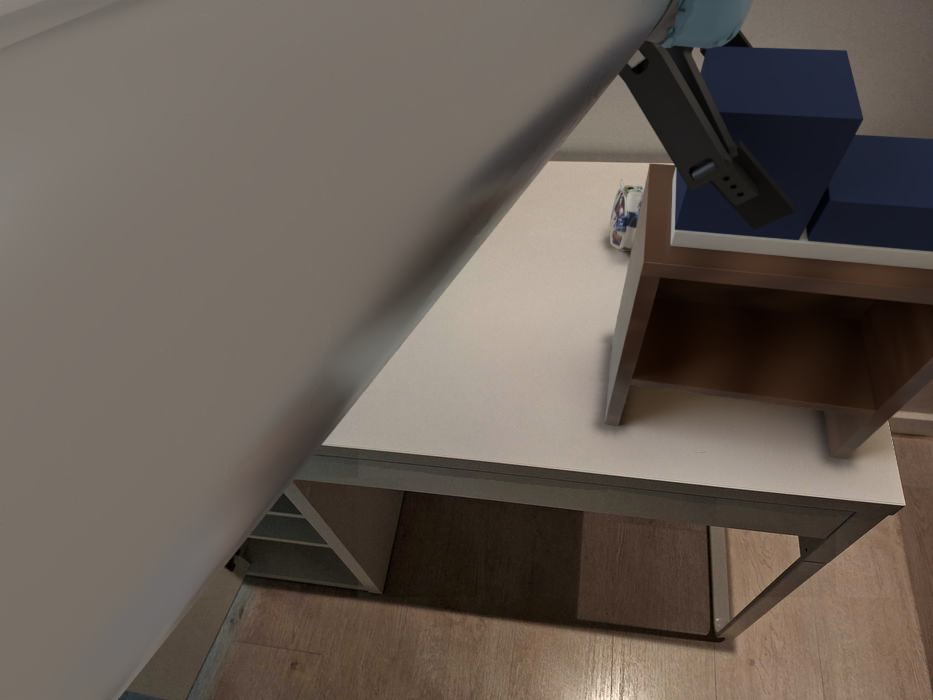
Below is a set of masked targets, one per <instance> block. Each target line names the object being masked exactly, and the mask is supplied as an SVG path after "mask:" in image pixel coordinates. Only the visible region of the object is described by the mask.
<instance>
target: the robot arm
mask: <svg viewBox="0 0 933 700" xmlns="http://www.w3.org/2000/svg"><path fill="white" fill-rule="evenodd" d="M753 3H754V0H0V700H119V699H120V698H121V696H123V694H124V693H125V692H126V691H127V689H128V688H129V686H131V684H132V683H133V681H134V680H135V679H136V678H137V676H138V675H140V673H141V672H142V671H143V669H144V668H145V667H146V665H147V664H148V663H149V661H150V660H151V659H152V658H153V656H154V655H155V654H156V653H157V651H158V650H159V649H160V648H161V646H163V644H164V642H165V641H166V640H167V639H168V638H169V637H170V635H171V634H172V633H173V632H174V630H175V629H176V628H177V627H178V625H179V624H180V623H181V622H182V620H183V619H184V618H185V617H186V615H187V614H188V613H189V612H190V610H191V609H192V607H194V606H195V604H196V603H197V601H198V600H199V599H200V598H201V597H202V595H203V594H204V593H205V592H206V590H207V589H208V588H209V587H210V585H211V584H212V583H213V581H214V580H215V579H216V578H217V577H218V575H219V574H220V573H221V572H222V571H223V569H224V568H225V566H226V565H227V564H228V563H229V562H230V560H231V559H232V558H233V556H234V555H235V554H236V553H237V552H238V550H239V549H240V548H241V547H242V545H243V544H244V543H245V541H246V540H247V539H248V538H249V536H250V535H251V534H252V533H253V531H254V530H255V529H256V528H257V526H258V525H259V524H260V523H261V522H262V520H263V519H264V518H265V516H266V515H267V514H268V513H269V512H270V511H271V509H272V508H273V507H274V505H275V504H276V503H277V501H279V499H280V498H281V497H282V496H283V494H284V493H285V492H286V490H287V489H288V488H289V486H291V484H292V483H293V481H294V480H295V479H296V478H297V476H299V474H300V473H301V472H302V470H303V469H304V468H305V467H306V466H307V464H308V463H309V461H310V460H311V459H312V458H313V457H314V456H315V454H316V453H317V451H318V450H319V449H320V448H321V446H323V444H324V443H325V442H326V440H327V439H328V438H329V436H330V435H332V433H333V431H334V430H335V429H336V428H337V426H338V425H339V424H340V423H341V422H342V420H343V419H344V418H345V417H346V415H347V414H348V413H349V412H350V410H351V409H352V408H353V406H354V405H355V404H356V403H357V401H358V400H359V399H360V398H361V397H362V395H363V394H364V393H365V392H366V391H367V389H368V388H369V387H370V385H371V384H372V383H373V382H374V381H375V379H376V378H377V377H378V375H379V374H380V373H381V371H383V369H384V368H385V367H386V365H387V364H388V363H389V362H390V360H391V359H392V358H393V357H394V356H395V354H396V353H397V351H398V350H399V349H400V348H401V347H402V345H404V343H405V342H406V340H407V339H408V338H409V337H410V335H411V334H412V332H413V331H414V330H415V329H416V328H417V327H418V325H419V324H420V323H421V322H422V320H423V319H424V318H425V317H426V315H427V314H428V313H429V312H430V311H431V309H433V307H434V305H435V304H436V303H437V302H438V300H439V299H440V298H441V297H442V295H443V294H444V293H445V291H446V290H447V289H448V288H449V286H450V285H451V284H452V283H453V282H454V280H455V279H456V278H457V276H459V274H460V273H461V272H462V270H463V269H464V268H465V266H466V265H467V264H468V263H469V261H470V260H471V259H472V258H473V257H474V256H475V254H476V253H477V251H478V250H480V248H481V246H482V245H483V244H484V243H485V242H486V241H487V239H488V238H489V237H490V235H491V234H492V233H493V231H494V230H495V229H496V228H497V226H498V225H499V224H500V223H501V221H502V220H503V219H504V218H505V216H506V215H508V213H509V212H510V211H511V209H512V208H513V207H514V206H515V204H516V203H517V202H518V200H519V199H520V198H521V197H522V196H523V194H524V193H525V191H526V190H527V189H528V188H529V187H530V186H531V184H532V183H533V182H534V180H535V179H536V178H537V176H539V174H540V173H541V172H542V170H543V169H544V168H545V166H547V164H548V163H549V161H550V160H551V159H552V158H553V157H554V155H555V154H556V153H557V152H558V150H559V149H560V148H561V147H562V145H563V144H564V143H565V142H566V141H567V139H568V138H569V137H570V135H571V134H572V133H573V131H574V130H575V129H576V128H577V127H578V126H579V124H580V123H581V121H582V120H583V119H584V118H585V117H586V115H587V114H588V113H589V112H590V110H591V109H592V108H593V107H594V105H595V104H596V103H597V101H598V100H599V99H600V98H601V96H603V94H604V93H605V92H606V90H607V89H608V88H609V87H610V85H611V84H612V83H613V82H614V81H615V79H616V78H617V76H618V77H620V78H621V80H622V81H623V82H624V83H625V86H626V87H627V89H628V90H629V92H630V93H631V95H632V97H633V99H634V100H635V102H636V103H637V105H638V107H639V108H640V110H641V112H642V114H643V115H644V117H645V118H646V120H647V122H648V123H649V125H650V127H651V129H652V130H653V132H654V133H655V135H656V137H657V138H658V140H659V142H660V143H661V145H662V146H663V148H664V150H665V151H666V154H667V155H668V156H669V159H670V160H671V162H672V163H673V165H675V166H676V168H677V170H678V171H679V173H680V175H681V177H682V179H683V180H684V181H685V183H686V185H687V186H688V187H689V189H691V190H695V189H697V188H698V187H700V186H702V185H704V184H706V183H708V182H710V183H711V184H712V185H713V186H714V187H715V188H716V190H717V191H718V192H719V193H720V194H721V195H722V196H723V197H724V198H725V199H726V201H727V202H728V203H729V204H730V205H731V206H732V207H733V208H734V209H735V210H736V211H737V213H738V214H739V215H740V216H741V217H742V218H743V219H744V220H745V221H746V222H747V224H748V225H749V226H750V227H751V228H752V229H753V230H756V229H758V228H760V227H763V226H765V225H767V224H769V223H771V222H774V221H776V220H778V219H780V218H782V217H785V216H787V215H789V214H791V213H793V212H795V211H794V204H793V202H792V201H791V200H790V199H789V198H788V196H787V195H786V194H785V193H784V192H783V190H782V189H781V188H780V187H779V186H778V184H777V183H776V182H775V181H774V180H773V178H772V177H771V176H770V175H769V174H768V172H767V171H766V170H765V169H764V168H763V166H762V165H761V164H760V163H759V162H758V160H757V159H756V158H755V157H754V156H753V154H752V153H751V152H750V151H749V150H748V148H747V147H746V146H745V145H744V144H743V142H742V141H741V140H738V141H737V142H735V143H734V142H733V140H732V138H731V136H730V134H729V132H728V130H727V128H726V125H725V123H724V121H723V119H722V117H721V115H720V113H719V111H718V109H717V107H716V105H715V103H714V100H713V98H712V96H711V94H710V92H709V90H708V88H707V86H706V84H705V82H704V80H703V77H702V75H701V73H700V72H701V70H700V69H699V67H698V64H697V63H696V61H695V58H694V57H693V50H695V48H697V49H699V53H700V54H701V55H702V56H703V57H705V53H706V49H707V48H713V47H719V46H720V47H753V46H752V44H751V42H750V41H749V40H748V38H747V37H746V36H745V34H744V33H743V31H742V29H741V28H742V27H743V25H744V23H745V21H746V19H747V16H748V14H749V12H750V11H751V7H752V5H753Z"/></svg>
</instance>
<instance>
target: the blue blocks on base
mask: <svg viewBox="0 0 933 700" xmlns="http://www.w3.org/2000/svg"><path fill="white" fill-rule="evenodd" d="M703 57H704V56H703ZM700 73H701V75H702V77H703V80H704V82H705V84H706V86H707V88H708V90H709V92H710V94H711V96H712V98H713V100H714V103H715V105H716V107H717V109H718V111H719V113H720V115H721V117H722V119H723V121H724V123H725V125H726V128H727V130H728V132H729V134H730V136H731V138H732V140H733V142H734V143H735V142H737V141H738V140H741V141H742V142H743V144H744V145H745V146H746V147H747V148H748V150H749V151H750V152H751V153H752V154H753V156H754V157H755V158H756V159H757V160H758V162H759V163H760V164H761V165H762V166H763V168H764V169H765V170H766V171H767V172H768V174H769V175H770V176H771V177H772V178H773V180H774V181H775V182H776V183H777V184H778V186H779V187H780V188H781V189H782V190H783V192H784V193H785V194H786V195H787V196H788V198H789V199H790V200H791V201H792V202H793V204H794V211H795V212H793V213H791V214H789V215H787V216H785V217H782V218H780V219H778V220H776V221H774V222H771V223H769V224H767V225H765V226H763V227H760V228H758V229H756V230H753V229H752V228H751V227H750V226H749V225H748V224H747V222H746V221H745V220H744V219H743V218H742V217H741V216H740V215H739V214H738V213H737V211H736V210H735V209H734V208H733V207H732V206H731V205H730V204H729V203H728V202H727V201H726V199H725V198H724V197H723V196H722V195H721V194H720V193H719V192H718V191H717V190H716V188H715V187H714V186H713V185H712V184H711V183H710V182H708V183H706V184H704V185H702V186H700V187H698V188H697V189H695V190H691V189H689V187H688V186H687V185H686V183H685V181H684V180H683V179H682V177H681V175H680V173H679V171H678V170H677V168H675V172H674V176H673V185H672V217H671V246H678V247H689V248H700V249H711V250H722V251H733V252H744V253H755V254H766V255H777V256H788V257H799V258H810V259H821V260H832V261H843V262H855V263H866V264H877V265H888V266H899V267H910V268H921V269H932V270H933V138H923V137H905V136H904V137H903V136H889V135H887V136H885V135H869V134H857V132H858V130H859V129H860V126H861V125H862V123H863V121H864V115H863V111H862V107H861V102H860V100H859V95H858V90H857V86H856V83H855V78H854V75H853V70H852V66H851V62H850V59H849V54H848V51H847V50H846V49H818V48H817V49H815V48H814V49H813V48H784V47H754V46H752V47H720V46H719V47H713V48H707V49H706V53H705V57H704V58H703V61H702V64H701V68H700Z"/></svg>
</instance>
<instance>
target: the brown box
mask: <svg viewBox="0 0 933 700" xmlns="http://www.w3.org/2000/svg"><path fill="white" fill-rule="evenodd" d="M675 168H676V166H675V165H674V164H667V163H649V164H648V170H647V174H646V178H645V179H646V180H645V183H644V187H643V189H644V193H643V198H642V203H641V207H640V212H639V217H638V222H637V226H636V231H635V236H634V241H633V245H632V250H631V251H630V255H629V260H628V265H627V269H626V273H625V279H624V284H623V289H622V293H621V297H620V302H619V308H618V313H617V316H616V322H615V327H614V331H613V336H612V342H611V351H610V352H611V353H610V362H609V371H608V372H609V374H608V384H607V394H606V406H605V415H604V416H605V417H604V424H605V425H612V426H617V427H618V426H619V425H620V422H621V419H622V415H623V411H624V407H625V404H626V400H627V397H628V393H629V390H630V386H635V387H643V388H652V389H656V390H657V389H658V390H664V391H665V390H666V391H673V392H674V391H675V392H681V393H687V394H688V393H689V394H694V395H703V396H711V397H717V398H724V399H725V398H726V399H733V400H740V401H747V402H748V401H749V402H755V403H756V402H757V403H763V404H769V405H777V406H784V407H785V406H786V407H792V408H793V407H794V408H801V409H807V410H815V411H823V413H824V421H825V429H826V436H827V444H828V451H829V457H830V458H835V459H836V458H837V459H841V460H846V459H848V458H849V457H850V456H851V455H852V454H853V453H854V452H855V451H857V449H858V448H859V447H861V446H862V445H863V444H864V443H865V442H866V441H867V440H868V439H870V438H871V437H872V436H873V435H874V434H875V433H877V431H878V430H879V429H880V428H881V427H883V426H884V425H885V424H886V423H887V422H888V421H890V419H892V417H893V416H895V414H897V413H898V412H899V411H900V410H901V409H902V408H903V407H904V406H906V405H907V403H909V402H910V401H911V400H912V399H913V398H914V397H915V396H916V395H917V394H919V393H920V392H921V391H922V390H923V389H924V388H925V387H927V385H928V384H930V383H931V382H932V381H933V270H932V269H921V268H910V267H899V266H888V265H877V264H866V263H855V262H843V261H832V260H821V259H810V258H799V257H788V256H777V255H766V254H755V253H744V252H733V251H722V250H711V249H700V248H689V247H678V246H671V217H672V185H673V176H674V172H675Z"/></svg>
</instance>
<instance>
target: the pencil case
mask: <svg viewBox="0 0 933 700" xmlns="http://www.w3.org/2000/svg"><path fill="white" fill-rule="evenodd" d="M619 186H620V187H619V188H618V190H617V191H616V196H615V198H614V201H613V206H612V209H611V213H610V219H609V243H610V245H611V246H612V247H613V248H614V249H616V250H617V251H619V252H631V250H632V245H633V241H634V236H635V231H636V226H637V222H638V217H639V212H640V207H641V203H642V198H643V193H644V187H643V186H642V185H639V184H636V185H633V184H631V185H630V184H627V185H624V182H623V179H622V178H620V180H619Z"/></svg>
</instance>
